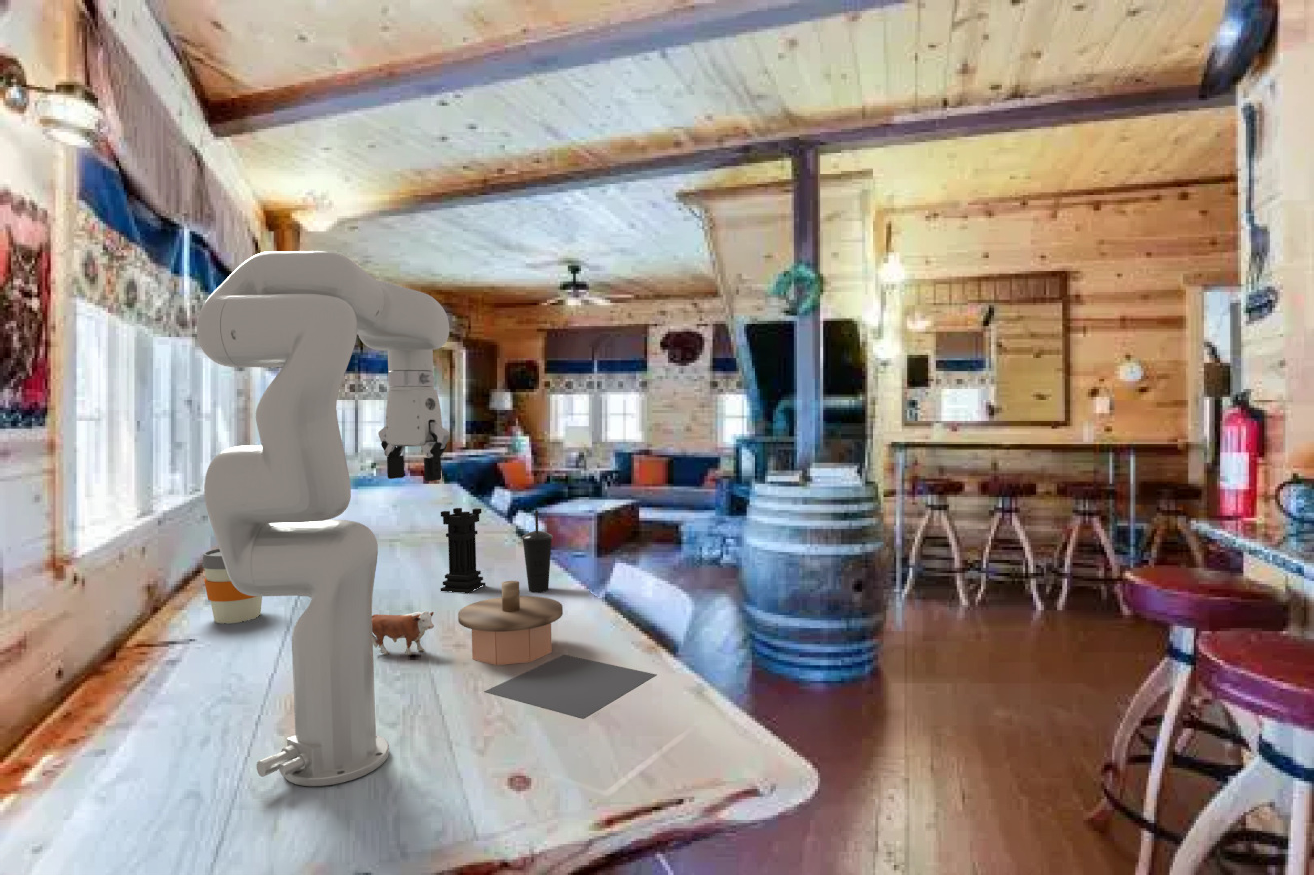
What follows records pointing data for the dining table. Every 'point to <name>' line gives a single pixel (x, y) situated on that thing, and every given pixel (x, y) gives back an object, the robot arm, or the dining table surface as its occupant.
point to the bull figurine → (401, 629)
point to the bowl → (511, 645)
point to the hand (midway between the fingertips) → (414, 479)
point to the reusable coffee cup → (227, 593)
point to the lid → (510, 611)
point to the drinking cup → (537, 558)
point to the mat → (571, 685)
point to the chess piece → (462, 551)
